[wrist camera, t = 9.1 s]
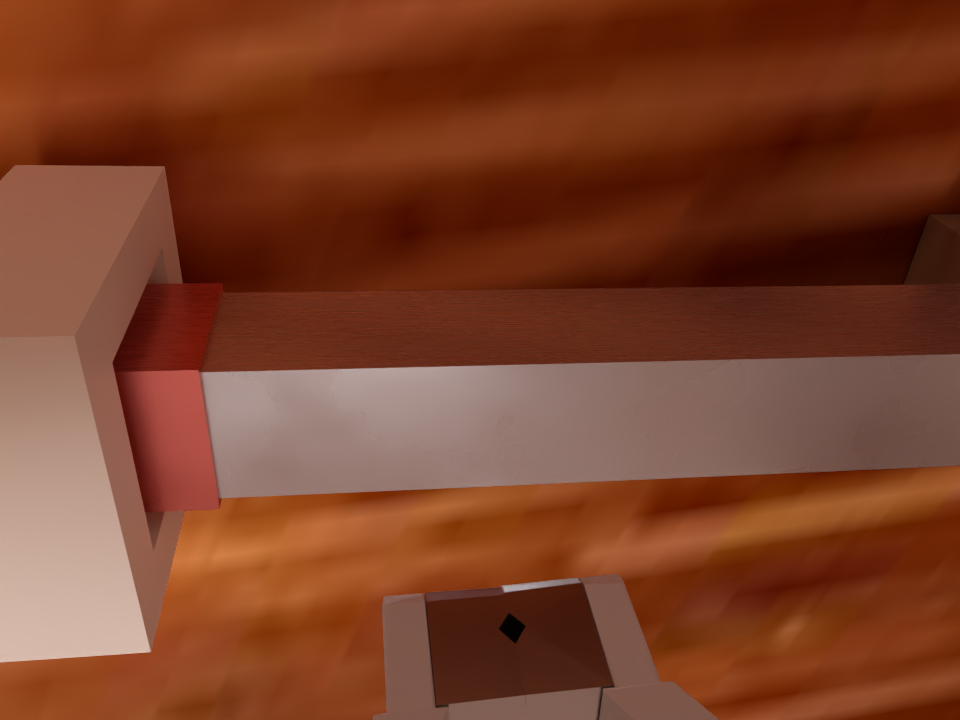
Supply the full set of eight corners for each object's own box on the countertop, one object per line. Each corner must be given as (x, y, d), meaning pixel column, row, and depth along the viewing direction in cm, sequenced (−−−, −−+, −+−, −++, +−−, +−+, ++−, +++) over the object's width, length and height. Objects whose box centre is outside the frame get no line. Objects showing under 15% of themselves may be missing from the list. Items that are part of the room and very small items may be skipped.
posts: (1031, 214, 23) (1268, 353, 17) (975, 340, 25) (1167, 502, 19) (-194, 213, 18) (-446, 397, 13) (-132, 364, 21) (-324, 581, 15)
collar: (164, 166, 18) (74, 336, 12) (205, 426, 22) (151, 652, 16) (15, 165, 17) (-154, 339, 12) (82, 431, 21) (-19, 663, 15)
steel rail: (1067, 274, 20) (1180, 346, 17) (1013, 386, 22) (1107, 468, 19) (-210, 287, 16) (-323, 382, 14) (-151, 422, 18) (-241, 529, 15)
